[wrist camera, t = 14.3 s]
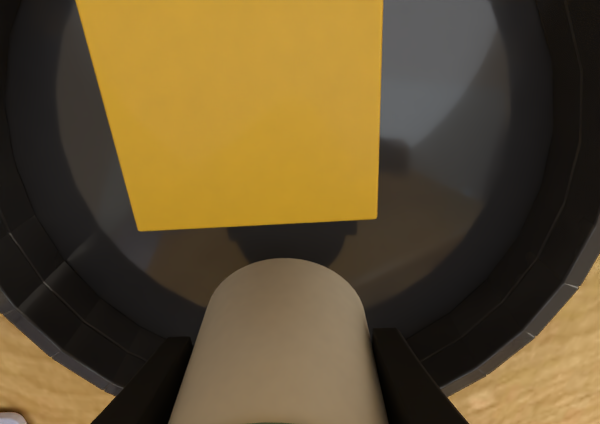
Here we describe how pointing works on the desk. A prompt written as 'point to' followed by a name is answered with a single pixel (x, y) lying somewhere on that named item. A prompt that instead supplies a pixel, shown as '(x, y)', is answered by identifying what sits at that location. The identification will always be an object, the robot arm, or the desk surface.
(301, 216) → the yellow block
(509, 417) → the desk surface
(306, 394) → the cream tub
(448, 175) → the pan
